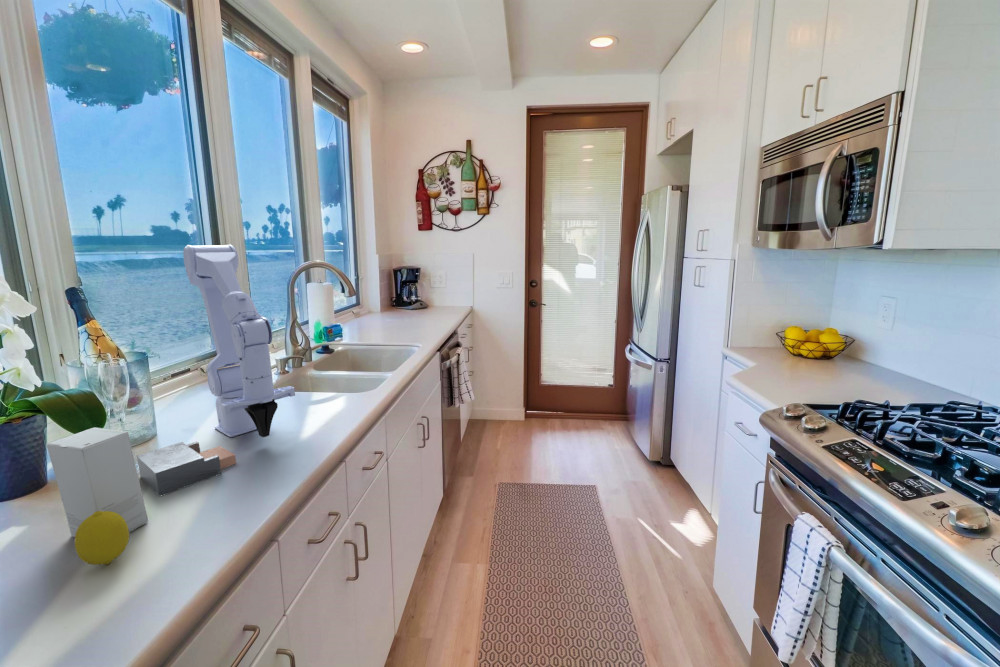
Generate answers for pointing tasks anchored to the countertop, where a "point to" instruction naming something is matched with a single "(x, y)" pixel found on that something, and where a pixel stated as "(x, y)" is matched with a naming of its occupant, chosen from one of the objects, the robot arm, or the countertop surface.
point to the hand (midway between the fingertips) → (264, 435)
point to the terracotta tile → (220, 456)
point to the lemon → (101, 538)
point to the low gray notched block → (176, 467)
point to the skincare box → (97, 476)
